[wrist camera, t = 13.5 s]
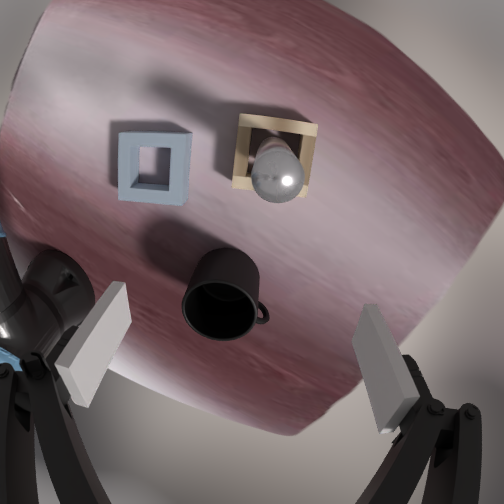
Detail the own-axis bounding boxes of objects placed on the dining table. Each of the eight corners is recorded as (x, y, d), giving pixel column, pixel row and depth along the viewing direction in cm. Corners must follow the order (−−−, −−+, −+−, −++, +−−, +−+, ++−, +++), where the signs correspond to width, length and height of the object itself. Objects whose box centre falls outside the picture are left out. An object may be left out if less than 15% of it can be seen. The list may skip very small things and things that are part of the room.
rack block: (234, 182, 38) (231, 187, 36) (241, 113, 34) (239, 113, 32) (303, 191, 38) (306, 197, 36) (314, 123, 34) (318, 124, 32)
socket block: (127, 193, 39) (118, 200, 37) (128, 130, 36) (118, 132, 33) (187, 199, 40) (181, 206, 37) (192, 132, 36) (186, 134, 33)
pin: (255, 165, 37) (248, 199, 23) (259, 135, 35) (254, 147, 21) (287, 169, 37) (300, 206, 23) (291, 139, 35) (308, 155, 21)
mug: (252, 319, 48) (249, 359, 39) (185, 283, 45) (169, 319, 37) (286, 276, 44) (290, 314, 36) (215, 234, 42) (202, 265, 33)
